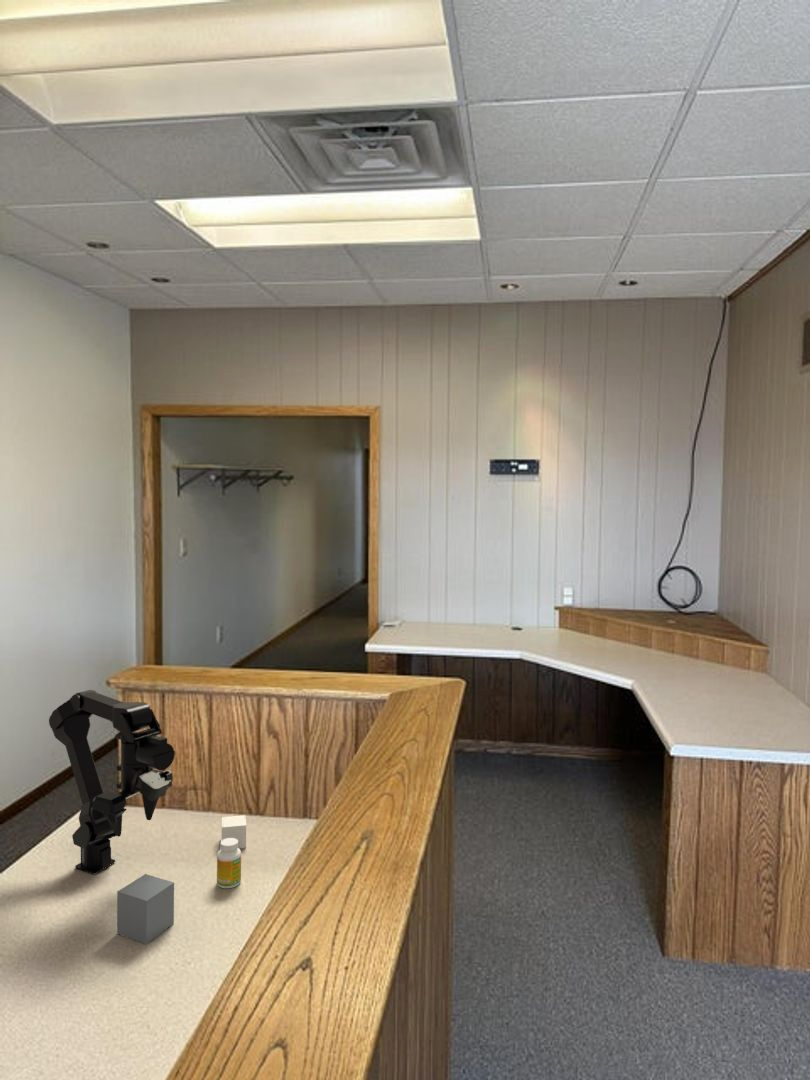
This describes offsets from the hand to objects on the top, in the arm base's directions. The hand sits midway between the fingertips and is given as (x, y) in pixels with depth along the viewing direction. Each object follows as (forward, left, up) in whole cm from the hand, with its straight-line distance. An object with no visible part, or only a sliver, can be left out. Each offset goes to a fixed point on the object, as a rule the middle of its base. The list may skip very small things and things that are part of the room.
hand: (133, 827), depth 164 cm
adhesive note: (+8, +26, -13) cm, 30 cm away
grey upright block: (+15, -12, -13) cm, 23 cm away
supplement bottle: (+19, +10, -13) cm, 25 cm away
